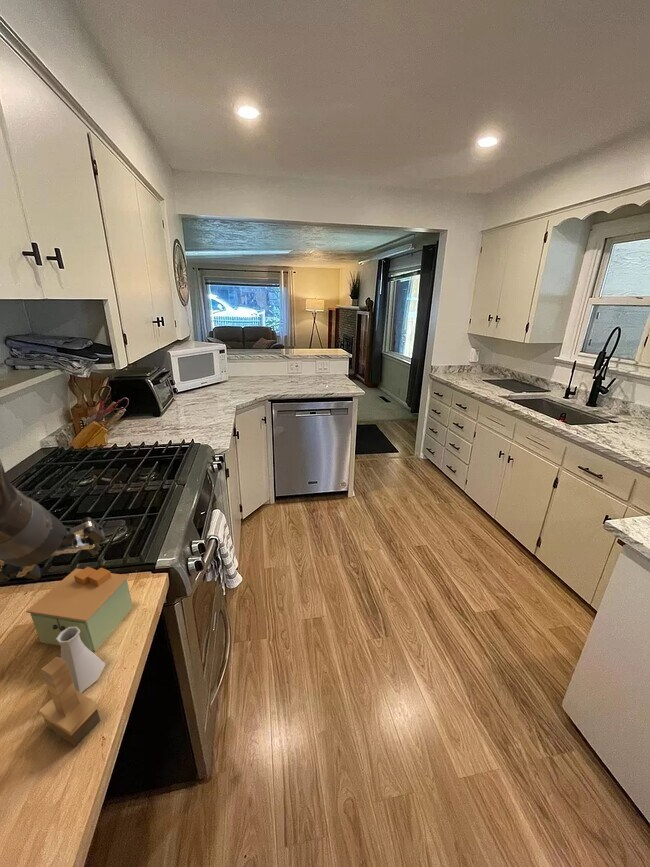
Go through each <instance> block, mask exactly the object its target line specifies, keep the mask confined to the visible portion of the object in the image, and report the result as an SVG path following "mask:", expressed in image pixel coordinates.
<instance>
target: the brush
mask: <svg viewBox="0 0 650 867" xmlns="http://www.w3.org/2000/svg"><path fill="white" fill-rule="evenodd" d="M40 670H41V673H42V676H43V678H44V680H45V683H46V686H47V689H48V692H49V694H50V696H51V697H50V698H51V699H50V700H49V701H47V702H46V703H45V704H44V705H43V706H42V707H41V708H40V709H39V710H38V713H39V715H40V716H41V717H42V718H43V719H44V722H45V725H46V727H47V728H48V729H49V730H51V731H52V732H54V733H55V734H57V735H58V736H60V737H61V738H62V739H64V740H65V741H67V742H68V743H69V744H71V745H72V746H73V747H75V748H77V747H78V745H80V743H82V741H83V740H84V739H85V738H86V737H87V736H88V735H89V734H90V733H91V731H92V730H93V729H94V728H95V727H96V726H97V725H98V724H99V723H100V722H101V717H100V714H99V711H98V709H99V703H98V702H97V701H96V700H93V699H92V698H90V697H89V696H87V695H85V694H84V693H83V692H82V693H80V692H79V691H77V690H76V689H75V687H74V684H73V681H72V678H71V675H70V671H69V668H68V665H67V662H66V661H64V660H62V659H61V657H59V656H57V655H56V656H55V657H54V658H52V659H51V660H50V661H49V662H48V663H46V664H45V665H44V666H43V667H42V668H41V669H40Z"/></svg>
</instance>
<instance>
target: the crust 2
mask: <svg viewBox="0 0 650 867" xmlns="http://www.w3.org/2000/svg"><path fill="white" fill-rule="evenodd" d="M96 570H97V571H95V572H94V573H92V574H91V575H89V576H88V580H89V582H90V583H92V584H94V585H96V586H99V585H101V584H102V583H104V582H105V581H106V580H108V579H109V578H111V573H112V572H111V571H110V570H108V569H106V568H103V567H100V568H98V569H96Z"/></svg>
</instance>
